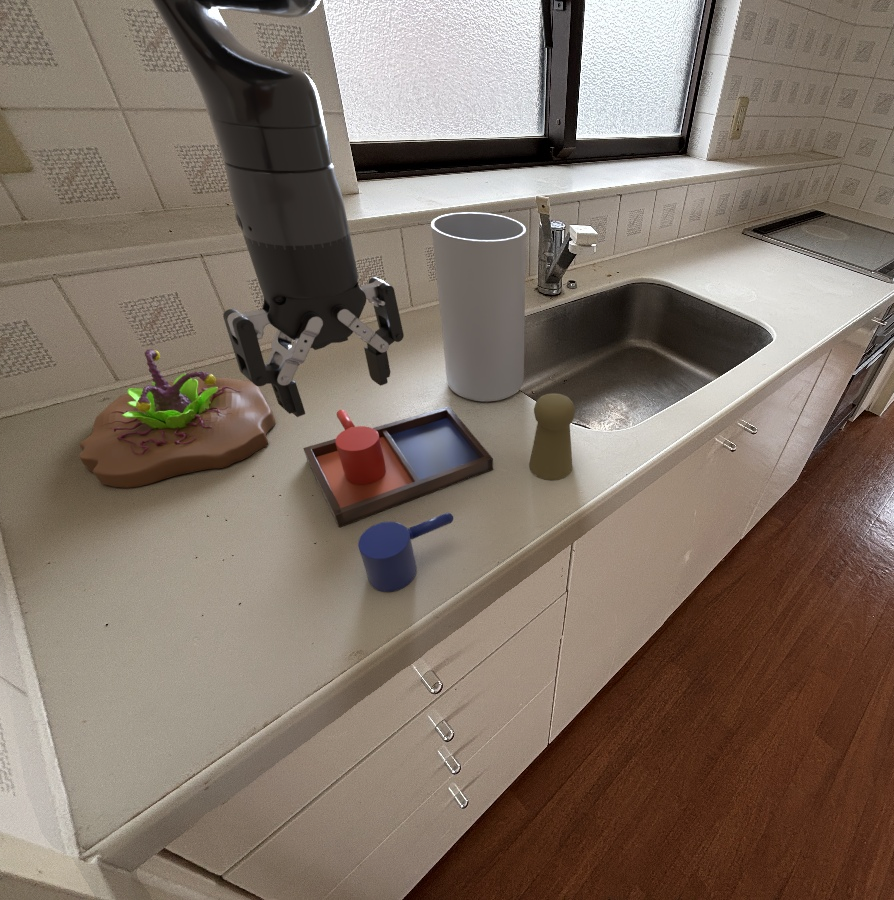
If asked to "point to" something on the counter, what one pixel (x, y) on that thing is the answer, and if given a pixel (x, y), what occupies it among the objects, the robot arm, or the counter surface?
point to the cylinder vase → (481, 302)
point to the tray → (402, 465)
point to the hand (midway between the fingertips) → (340, 396)
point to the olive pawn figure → (552, 437)
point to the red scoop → (359, 452)
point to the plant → (176, 428)
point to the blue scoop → (394, 552)
